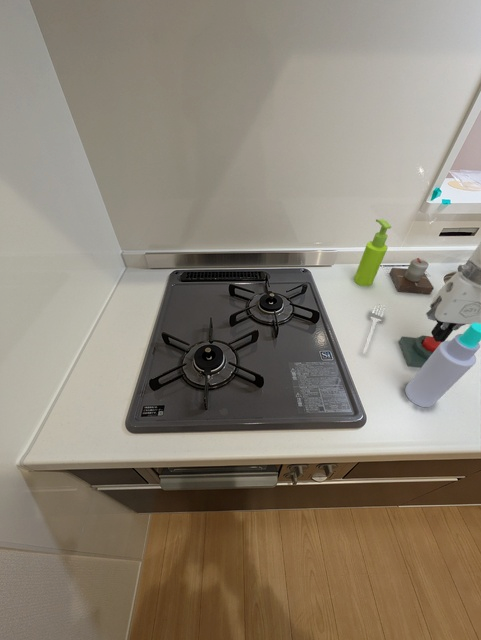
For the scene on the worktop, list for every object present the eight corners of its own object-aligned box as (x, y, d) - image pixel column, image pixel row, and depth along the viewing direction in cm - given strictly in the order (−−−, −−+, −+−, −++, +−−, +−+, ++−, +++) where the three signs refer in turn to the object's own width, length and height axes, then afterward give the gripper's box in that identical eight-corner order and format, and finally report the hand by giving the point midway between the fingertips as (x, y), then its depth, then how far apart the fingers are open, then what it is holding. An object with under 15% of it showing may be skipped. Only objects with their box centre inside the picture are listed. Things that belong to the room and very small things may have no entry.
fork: (357, 352, 71) (359, 347, 70) (373, 307, 84) (375, 302, 82) (370, 357, 70) (372, 352, 69) (384, 311, 82) (386, 306, 81)
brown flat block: (419, 275, 95) (422, 269, 93) (430, 294, 88) (434, 287, 86) (389, 273, 96) (392, 267, 94) (397, 291, 88) (401, 285, 87)
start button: (435, 341, 69) (438, 336, 68) (440, 352, 66) (444, 348, 65) (420, 340, 69) (423, 335, 68) (425, 351, 66) (428, 346, 65)
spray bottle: (404, 401, 61) (461, 334, 45) (404, 380, 65) (457, 311, 49) (434, 412, 59) (504, 346, 44) (433, 389, 63) (497, 321, 48)
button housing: (437, 345, 73) (445, 335, 70) (450, 370, 67) (459, 360, 64) (398, 341, 73) (404, 331, 70) (407, 366, 68) (415, 356, 65)
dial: (422, 282, 88) (431, 266, 84) (406, 281, 88) (415, 265, 84) (417, 273, 91) (425, 258, 87) (402, 272, 92) (410, 257, 88)
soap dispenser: (366, 273, 95) (388, 217, 81) (375, 285, 91) (401, 228, 76) (350, 274, 95) (369, 218, 81) (358, 287, 90) (381, 229, 76)
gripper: (454, 281, 50) (409, 346, 63) (542, 288, 49) (478, 353, 62) (438, 259, 55) (399, 323, 68) (517, 264, 54) (462, 328, 67)
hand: (436, 337), depth 65 cm, fingers closed
